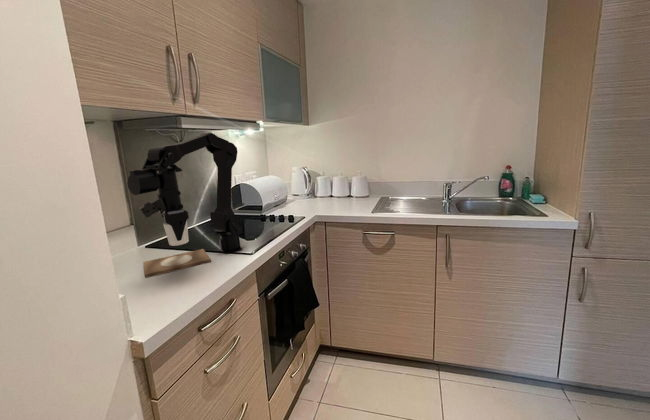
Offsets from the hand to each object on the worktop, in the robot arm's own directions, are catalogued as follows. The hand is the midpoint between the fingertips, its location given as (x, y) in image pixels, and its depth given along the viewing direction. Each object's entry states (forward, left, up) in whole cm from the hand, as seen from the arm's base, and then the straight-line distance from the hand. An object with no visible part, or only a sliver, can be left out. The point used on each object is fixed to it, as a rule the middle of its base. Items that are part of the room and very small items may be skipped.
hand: (177, 238), depth 101 cm
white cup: (0, 0, -2) cm, 2 cm away
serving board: (+1, -10, -11) cm, 15 cm away
